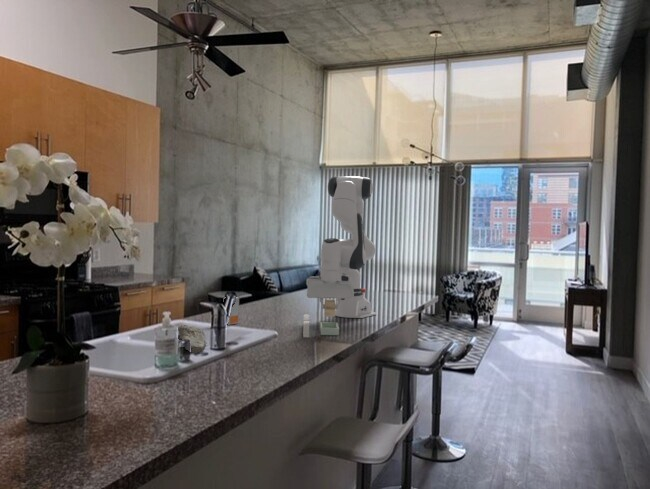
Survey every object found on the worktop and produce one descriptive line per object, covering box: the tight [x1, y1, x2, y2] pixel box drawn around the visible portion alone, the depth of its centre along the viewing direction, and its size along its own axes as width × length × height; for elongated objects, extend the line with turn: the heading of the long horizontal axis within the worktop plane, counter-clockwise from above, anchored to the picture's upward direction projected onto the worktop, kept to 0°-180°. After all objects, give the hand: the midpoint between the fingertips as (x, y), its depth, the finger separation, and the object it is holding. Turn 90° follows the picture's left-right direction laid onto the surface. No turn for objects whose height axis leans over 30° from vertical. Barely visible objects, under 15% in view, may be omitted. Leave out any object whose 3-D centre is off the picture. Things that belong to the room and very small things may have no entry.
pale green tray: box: [319, 321, 340, 336], centre depth 223 cm, size 14×8×3 cm, turn 2°
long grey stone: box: [177, 325, 207, 354], centre depth 197 cm, size 35×5×10 cm
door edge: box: [302, 313, 310, 338], centre depth 224 cm, size 26×2×5 cm, turn 2°
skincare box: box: [223, 296, 240, 326], centre depth 236 cm, size 6×4×12 cm
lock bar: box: [324, 298, 336, 318], centre depth 223 cm, size 10×4×6 cm, turn 2°
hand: (329, 308), depth 223 cm, fingers closed on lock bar, 4 cm apart
